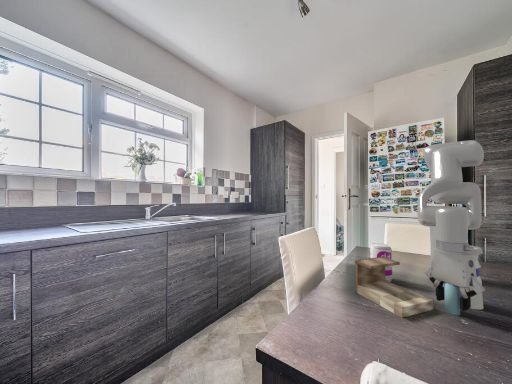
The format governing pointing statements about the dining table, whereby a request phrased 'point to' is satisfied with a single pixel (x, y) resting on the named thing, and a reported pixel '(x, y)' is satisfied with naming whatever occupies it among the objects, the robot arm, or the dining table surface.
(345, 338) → the dining table surface
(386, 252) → the supplement can
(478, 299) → the water bottle
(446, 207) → the robot arm
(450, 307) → the peg
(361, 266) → the socket block
